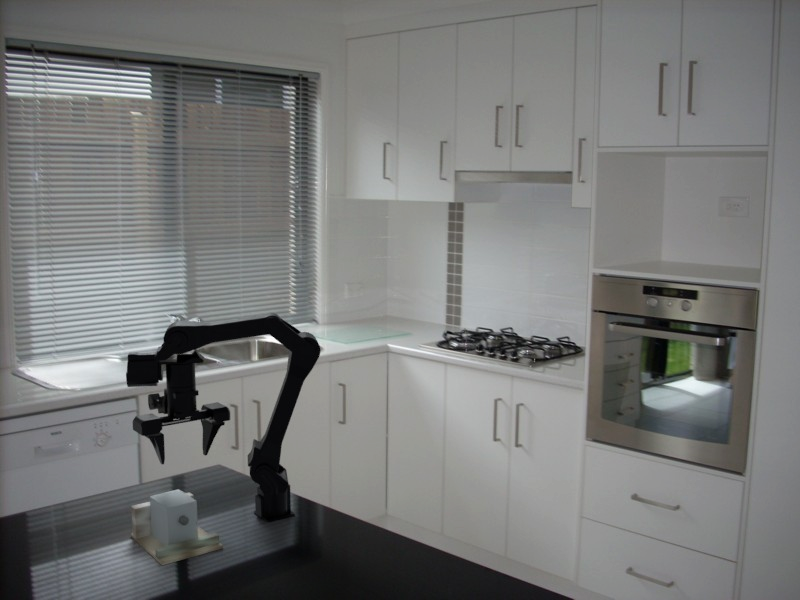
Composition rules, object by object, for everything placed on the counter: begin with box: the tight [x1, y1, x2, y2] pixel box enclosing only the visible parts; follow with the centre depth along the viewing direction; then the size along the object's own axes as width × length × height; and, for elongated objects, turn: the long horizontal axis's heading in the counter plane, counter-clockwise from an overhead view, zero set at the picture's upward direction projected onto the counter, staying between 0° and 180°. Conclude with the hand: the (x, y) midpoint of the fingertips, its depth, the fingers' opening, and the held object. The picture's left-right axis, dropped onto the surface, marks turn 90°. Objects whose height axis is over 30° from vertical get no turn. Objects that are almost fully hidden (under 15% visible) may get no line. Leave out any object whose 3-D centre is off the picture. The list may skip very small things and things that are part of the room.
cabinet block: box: [149, 488, 199, 546], centre depth 165 cm, size 6×9×8 cm, turn 39°
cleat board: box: [130, 491, 224, 566], centre depth 165 cm, size 12×16×7 cm
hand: (184, 459), depth 174 cm, fingers open, 9 cm apart
